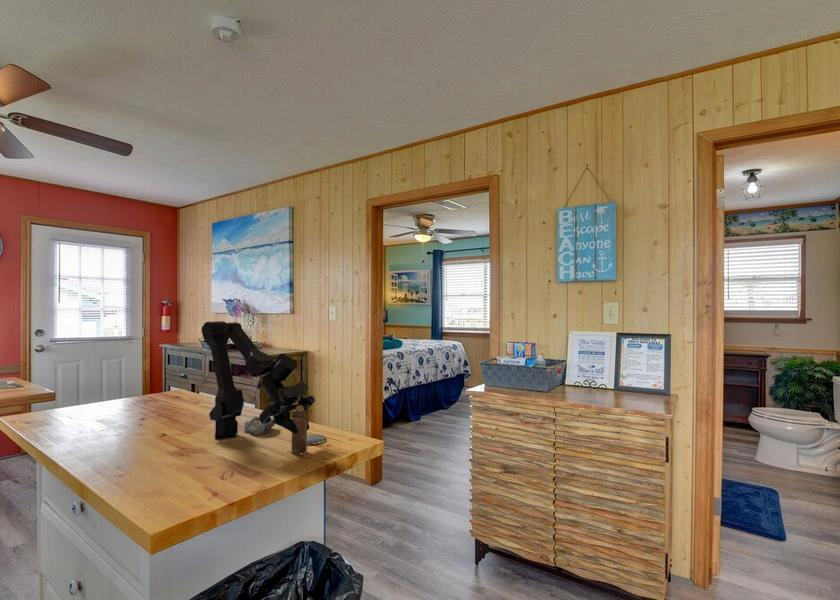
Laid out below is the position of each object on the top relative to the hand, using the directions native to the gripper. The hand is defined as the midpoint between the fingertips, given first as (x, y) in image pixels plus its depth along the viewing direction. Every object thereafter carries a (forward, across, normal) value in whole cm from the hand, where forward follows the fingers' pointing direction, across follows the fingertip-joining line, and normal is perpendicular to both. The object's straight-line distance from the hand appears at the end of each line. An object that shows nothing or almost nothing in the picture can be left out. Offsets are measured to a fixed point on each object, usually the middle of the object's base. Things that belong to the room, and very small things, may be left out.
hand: (302, 431), depth 133 cm
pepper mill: (+4, 0, +6) cm, 7 cm away
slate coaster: (0, +11, +9) cm, 14 cm away
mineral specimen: (-16, +11, +26) cm, 33 cm away
